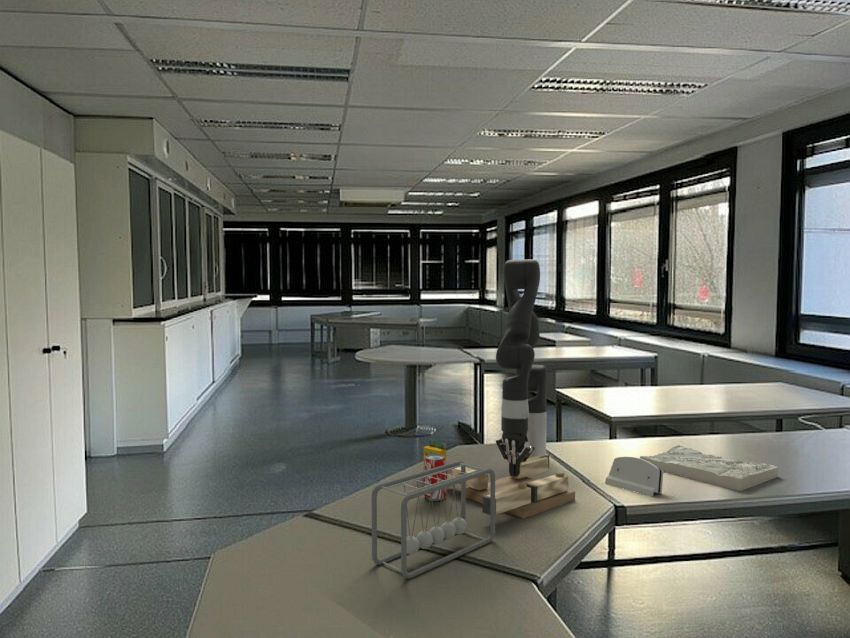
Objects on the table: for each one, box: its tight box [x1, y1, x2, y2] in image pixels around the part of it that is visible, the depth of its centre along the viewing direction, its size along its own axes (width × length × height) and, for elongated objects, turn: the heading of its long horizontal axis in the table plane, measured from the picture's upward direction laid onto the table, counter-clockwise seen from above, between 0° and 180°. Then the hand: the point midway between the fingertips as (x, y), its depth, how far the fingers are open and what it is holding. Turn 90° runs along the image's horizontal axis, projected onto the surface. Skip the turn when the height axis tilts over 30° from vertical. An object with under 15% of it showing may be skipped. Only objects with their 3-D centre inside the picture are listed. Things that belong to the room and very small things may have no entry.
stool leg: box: [524, 471, 569, 502], centre depth 174 cm, size 15×4×5 cm, turn 130°
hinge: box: [604, 456, 664, 498], centre depth 189 cm, size 17×5×10 cm, turn 38°
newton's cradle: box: [371, 460, 496, 580], centre depth 142 cm, size 30×10×18 cm, turn 135°
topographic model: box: [639, 444, 779, 492], centre depth 206 cm, size 23×34×5 cm
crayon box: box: [423, 439, 447, 462], centre depth 198 cm, size 7×3×12 cm, turn 47°
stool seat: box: [446, 454, 576, 519], centre depth 183 cm, size 32×44×8 cm
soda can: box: [423, 455, 447, 502], centre depth 180 cm, size 6×6×12 cm
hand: (514, 476), depth 177 cm, fingers closed
